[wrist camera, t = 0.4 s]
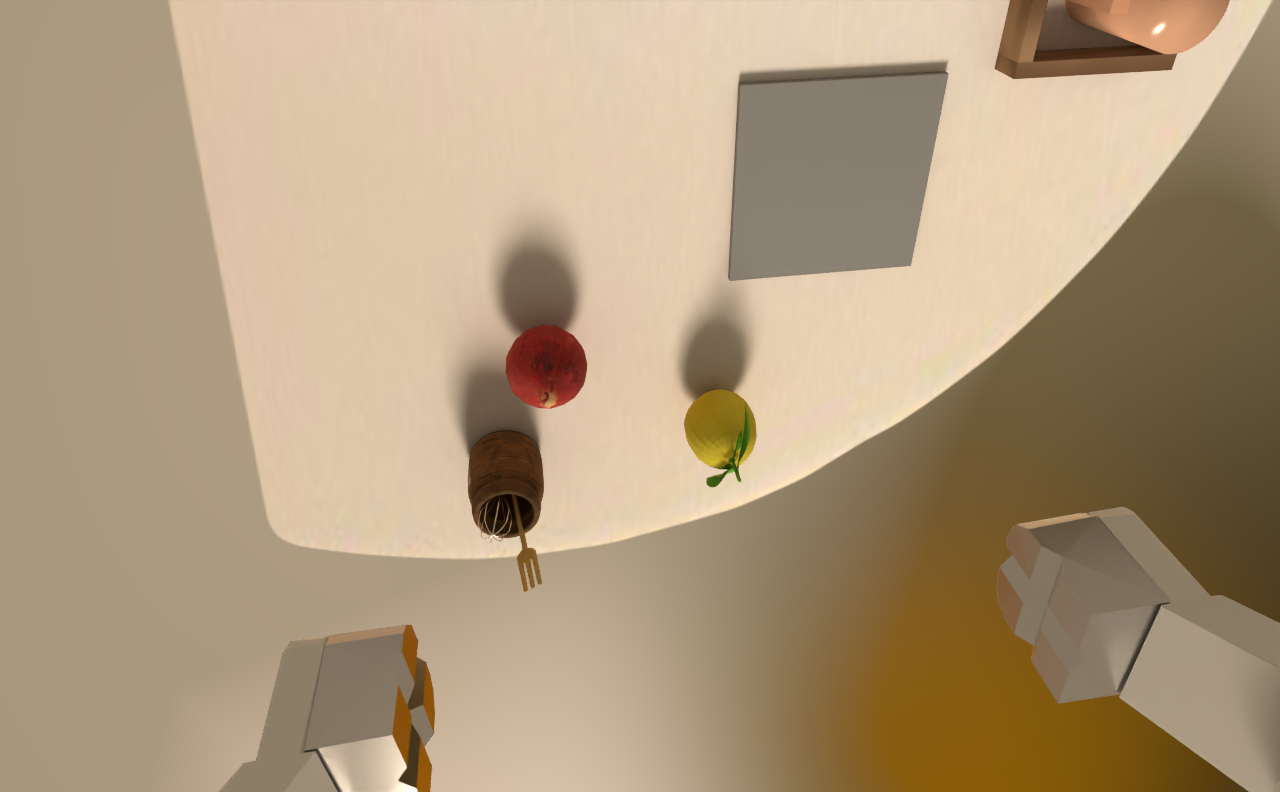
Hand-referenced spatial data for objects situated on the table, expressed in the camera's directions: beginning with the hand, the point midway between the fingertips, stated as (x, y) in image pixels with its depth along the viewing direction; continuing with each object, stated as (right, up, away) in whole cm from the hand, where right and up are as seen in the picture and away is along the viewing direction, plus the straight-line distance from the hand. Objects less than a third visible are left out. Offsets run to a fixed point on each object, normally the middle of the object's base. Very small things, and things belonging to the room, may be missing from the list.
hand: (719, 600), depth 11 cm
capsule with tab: (+29, +29, +42) cm, 58 cm away
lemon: (+5, +3, +57) cm, 57 cm away
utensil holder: (-12, -2, +57) cm, 59 cm away
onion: (-8, +7, +51) cm, 52 cm away
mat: (+12, +18, +47) cm, 52 cm away
